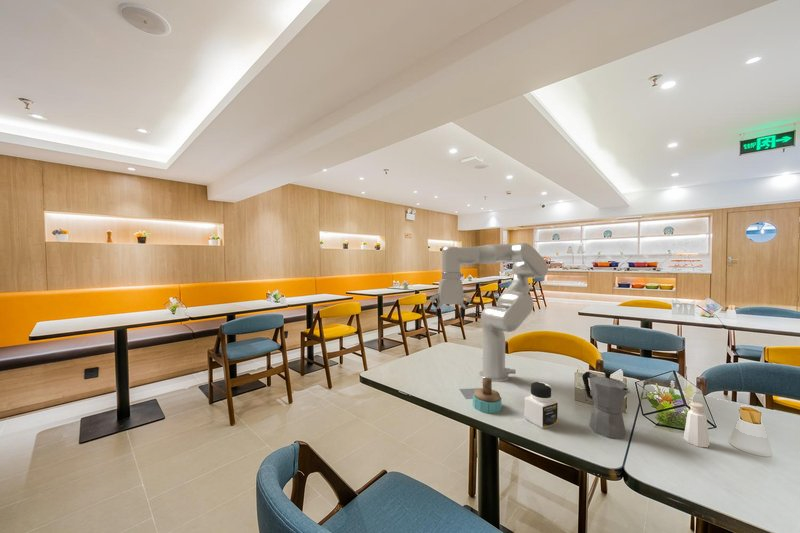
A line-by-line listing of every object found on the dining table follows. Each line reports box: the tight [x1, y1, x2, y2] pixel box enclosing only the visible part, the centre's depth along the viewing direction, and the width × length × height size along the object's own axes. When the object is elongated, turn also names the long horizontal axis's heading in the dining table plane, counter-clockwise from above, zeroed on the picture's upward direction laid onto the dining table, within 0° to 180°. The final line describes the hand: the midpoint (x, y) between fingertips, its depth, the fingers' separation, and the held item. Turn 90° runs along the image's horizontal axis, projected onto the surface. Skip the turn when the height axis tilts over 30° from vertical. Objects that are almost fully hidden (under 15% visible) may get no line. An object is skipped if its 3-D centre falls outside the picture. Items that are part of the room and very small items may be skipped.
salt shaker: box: [683, 401, 711, 448], centre depth 87 cm, size 5×5×11 cm
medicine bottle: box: [523, 381, 559, 429], centre depth 98 cm, size 7×7×12 cm
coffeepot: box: [581, 371, 631, 440], centre depth 94 cm, size 15×9×18 cm, turn 16°
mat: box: [459, 387, 481, 400], centre depth 118 cm, size 9×9×1 cm
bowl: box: [472, 393, 503, 414], centre depth 107 cm, size 10×10×4 cm
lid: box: [475, 378, 501, 402], centre depth 107 cm, size 8×8×6 cm
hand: (450, 318), depth 126 cm, fingers open, 9 cm apart
